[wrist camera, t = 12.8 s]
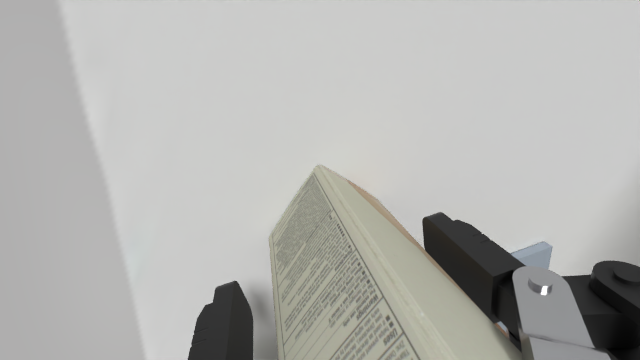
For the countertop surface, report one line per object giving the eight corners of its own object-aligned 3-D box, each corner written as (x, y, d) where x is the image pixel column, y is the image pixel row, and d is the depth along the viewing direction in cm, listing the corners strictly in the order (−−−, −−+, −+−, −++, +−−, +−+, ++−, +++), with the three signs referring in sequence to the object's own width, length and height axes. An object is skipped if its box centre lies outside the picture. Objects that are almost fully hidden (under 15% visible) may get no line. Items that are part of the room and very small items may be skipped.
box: (328, 263, 16) (439, 581, 6) (265, 236, 15) (280, 610, 5) (381, 194, 15) (621, 450, 5) (319, 156, 13) (496, 426, 3)
